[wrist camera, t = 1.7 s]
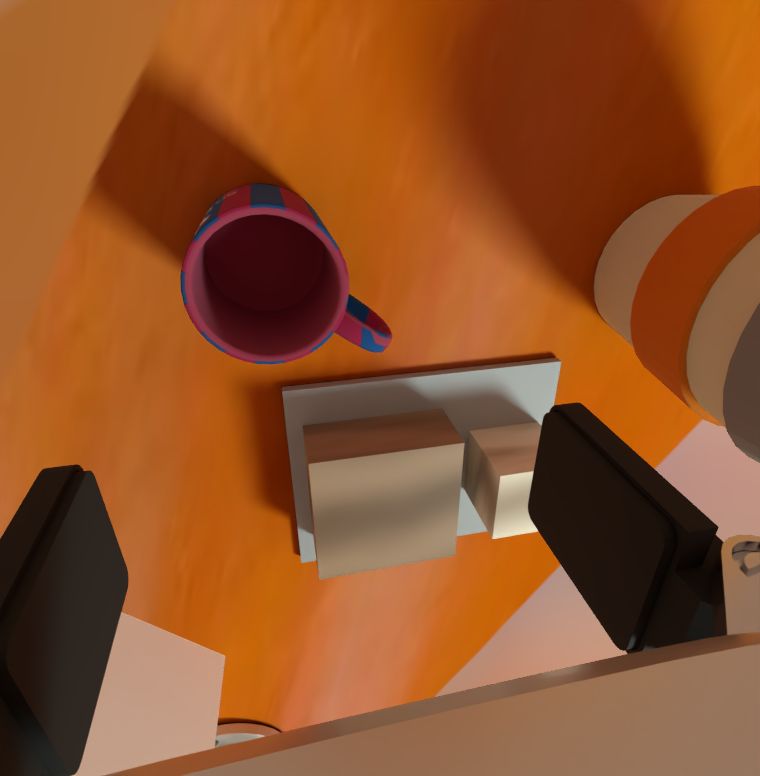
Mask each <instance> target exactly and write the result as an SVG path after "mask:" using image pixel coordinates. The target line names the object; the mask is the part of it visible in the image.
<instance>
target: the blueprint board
mask: <svg viewBox="0 0 760 776" xmlns="http://www.w3.org/2000/svg"><path fill="white" fill-rule="evenodd" d="M560 367H561V361H560V360H559V359H558V358H548V359H539V360H529V361H520V362H511V363H501V364H492V365H483V366H473V367H464V368H454V369H445V370H436V371H426V372H417V373H407V374H398V375H389V376H379V377H370V378H360V379H351V380H342V381H332V382H323V383H314V384H304V385H295V386H285V387H282V396H283V405H284V414H285V423H286V432H287V440H288V449H289V458H290V467H291V475H292V484H293V493H294V502H295V511H296V519H297V528H298V537H299V546H300V554H301V563H304V562H309V561H315V560H316V553H315V546H314V539H313V530H312V520H311V509H310V499H309V488H308V478H307V467H306V457H305V446H304V436H303V425H311V424H320V423H328V422H336V421H344V420H353V419H361V418H369V417H377V416H386V415H394V414H402V413H410V412H419V411H427V410H435V409H443V410H444V412H445V413H446V415H447V416H448V418H449V420H450V421H451V423H452V424H453V426H454V427H455V429H456V430H457V432H458V433H459V435H460V437H461V438H462V440H463V441H464V443H465V444H464V455H463V467H462V479H461V491H460V503H459V514H458V526H457V536H461V535H467V534H473V533H479V532H485V531H487V529H486V527H485V525H484V524H483V522H482V520H481V518H480V517H479V515H478V513H477V511H476V509H475V508H474V506H473V504H472V502H471V501H470V499H469V497H468V495H467V493H466V492H465V490H464V485H465V474H466V463H467V452H468V440H469V431H472V430H479V429H487V428H494V427H502V426H510V425H517V424H525V423H533V422H538V423H539V424H540V425H541V426H542V421H543V417H544V415H545V414H546V413H549V411H550V409H551V408H552V407H553V406H554V400H555V395H556V389H557V383H558V378H559V372H560Z"/></svg>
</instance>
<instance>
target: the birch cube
mask: <svg viewBox="0 0 760 776" xmlns="http://www.w3.org/2000/svg"><path fill="white" fill-rule="evenodd" d="M541 427H542V426H541V425H540V424H539V423H538V422H533V423H525V424H517V425H510V426H502V427H494V428H487V429H479V430H472V431H469V440H468V452H467V463H466V474H465V485H464V490H465V492H466V493H467V495H468V497H469V499H470V501H471V502H472V504H473V506H474V508H475V509H476V511H477V513H478V515H479V517H480V518H481V520H482V522H483V524H484V525H485V527H486V529H487V531H488V532H489V534H490V536H491V538H492V539H496V538H502V537H508V536H513V535H519V534H525V533H531V532H536V531H538V530H537V528H536V527H535V525H534V524H533V522H532V520H531V519H530V516H529V513H528V500H529V495H530V489H531V483H532V478H533V472H534V466H535V461H536V455H537V449H538V444H539V438H540V432H541Z"/></svg>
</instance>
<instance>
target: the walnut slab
mask: <svg viewBox="0 0 760 776" xmlns="http://www.w3.org/2000/svg"><path fill="white" fill-rule="evenodd" d="M303 436H304V446H305V457H306V467H307V478H308V488H309V499H310V509H311V520H312V530H313V539H314V546H315V553H316V560H317V567H318V574H319V580H321V579H326V578H332V577H338V576H343V575H349V574H355V573H360V572H366V571H371V570H377V569H383V568H388V567H394V566H399V565H405V564H411V563H416V562H422V561H427V560H433V559H439V558H444V557H450V556H455V550H456V538H457V526H458V514H459V503H460V491H461V479H462V467H463V455H464V444H465V443H464V441H463V440H462V438H461V437H460V435H459V433H458V432H457V430H456V429H455V427H454V426H453V424H452V423H451V421H450V420H449V418H448V416H447V415H446V413H445V412H444V410H443V409H435V410H427V411H419V412H410V413H402V414H394V415H386V416H377V417H369V418H361V419H353V420H344V421H336V422H328V423H320V424H311V425H303Z"/></svg>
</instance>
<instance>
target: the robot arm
mask: <svg viewBox="0 0 760 776" xmlns="http://www.w3.org/2000/svg"><path fill="white" fill-rule="evenodd" d="M528 513H529V516H530V519H531V520H532V522H533V524H534V525H535V527H536V528H537V530H538V531H539V533H540V534H541V536H542V537H543V539H544V540H545V542H546V543H547V545H548V546H549V547H550V549H551V550H552V552H553V553H554V555H555V556H556V558H557V559H558V561H559V562H560V564H561V565H562V567H563V568H564V570H565V571H566V573H567V574H568V576H569V577H570V579H571V580H572V582H573V583H574V585H575V586H576V588H577V589H578V591H579V592H580V594H581V595H582V596H583V598H584V600H585V601H586V603H587V604H588V605H589V607H590V608H591V610H592V611H593V613H594V614H595V616H596V617H597V619H598V620H599V622H600V623H601V625H602V626H603V628H604V629H605V631H606V632H607V634H608V635H609V637H610V638H611V640H612V641H613V643H614V644H615V645H616V646H617V647H618V648H619V649H620V650H623V651H624V650H626V652H627V653H628V654H626V655H622V656H618V657H613V658H609V659H604V660H599V661H595V662H590V663H586V664H581V665H577V666H572V667H568V668H563V669H559V670H554V671H550V672H545V673H541V674H536V675H532V676H527V677H523V678H518V679H514V680H509V681H504V682H500V683H496V684H491V685H487V686H483V687H478V688H474V689H469V690H465V691H460V692H456V693H452V694H447V695H443V696H438V697H434V698H430V699H425V700H421V701H416V702H412V703H408V704H403V705H399V706H394V707H390V708H386V709H381V710H377V711H373V712H368V713H364V714H360V715H355V716H351V717H346V718H342V719H338V720H333V721H329V722H325V723H320V724H316V725H312V726H308V727H303V728H299V729H295V730H290V731H286V732H282V733H280V732H279V731H277V730H275V729H273V728H270V727H267V726H264V725H258V724H251V723H232V724H222V725H217V732H216V740H215V748H213V749H209V750H205V751H200V752H196V753H192V754H188V755H183V756H179V757H175V758H171V759H167V760H163V761H159V762H155V763H151V764H147V765H143V766H139V767H135V768H131V769H127V770H123V771H119V772H115V773H111V774H107V775H103V776H760V537H758V536H753V535H737V536H733V537H730V538H728V539H727V540H726V541H725V542H723V541H722V540H721V539H719V538H718V537H717V536H716V535H715V534H716V532H717V530H718V526H717V525H716V524H714V523H713V522H712V521H711V520H710V519H709V518H708V517H707V516H706V515H704V514H703V513H702V512H701V511H700V510H699V509H698V508H697V507H696V506H695V505H693V504H692V503H691V502H690V501H689V500H688V499H687V498H686V497H685V496H683V495H682V494H681V493H680V492H679V491H678V490H677V489H676V488H675V487H673V486H672V485H671V484H670V483H669V482H668V481H667V480H666V479H665V478H663V477H662V476H661V475H660V474H659V473H658V472H657V471H656V470H655V469H653V468H652V467H651V466H650V465H649V464H648V463H647V462H646V461H645V460H643V459H642V458H641V457H640V456H639V455H638V454H637V453H636V452H635V451H633V450H632V449H631V448H630V447H629V446H628V445H627V444H626V443H625V442H624V441H622V440H621V439H620V438H619V437H618V436H617V435H616V434H615V433H614V432H612V431H611V430H610V429H609V428H608V427H607V426H606V425H605V424H604V423H602V422H601V421H600V420H599V419H598V418H597V417H596V416H595V415H594V414H592V413H591V412H590V411H589V410H588V409H587V408H586V407H585V406H584V405H582V404H581V403H569V404H561V405H554V406H553V407H552V408H551V409H550V411H549V413H546V414H545V415H544V417H543V421H542V427H541V432H540V438H539V444H538V449H537V455H536V461H535V466H534V472H533V478H532V483H531V489H530V495H529V500H528ZM127 588H128V571H127V567H126V564H125V561H124V558H123V556H122V553H121V550H120V547H119V544H118V541H117V538H116V536H115V533H114V530H113V527H112V524H111V521H110V519H109V516H108V513H107V510H106V507H105V504H104V501H103V499H102V496H101V493H100V490H99V487H98V484H97V482H96V479H95V476H94V474H93V473H92V471H83V469H82V468H81V466H80V465H69V466H61V467H53V468H45V469H43V470H42V471H41V472H40V473H39V475H38V477H37V478H36V480H35V482H34V483H33V485H32V487H31V488H30V490H29V492H28V493H27V495H26V497H25V498H24V500H23V502H22V504H21V505H20V507H19V509H18V510H17V512H16V514H15V515H14V517H13V519H12V520H11V522H10V524H9V525H8V527H7V529H6V531H5V532H4V534H3V536H2V537H1V539H0V776H72V775H75V774H76V773H77V771H78V769H79V767H80V764H81V761H82V758H83V754H84V750H85V746H86V743H87V739H88V735H89V731H90V728H91V724H92V720H93V716H94V712H95V709H96V705H97V701H98V697H99V694H100V690H101V686H102V682H103V679H104V675H105V671H106V667H107V664H108V660H109V656H110V652H111V649H112V645H113V641H114V637H115V634H116V630H117V626H118V622H119V619H120V615H121V611H122V607H123V604H124V600H125V596H126V592H127Z"/></svg>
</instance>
